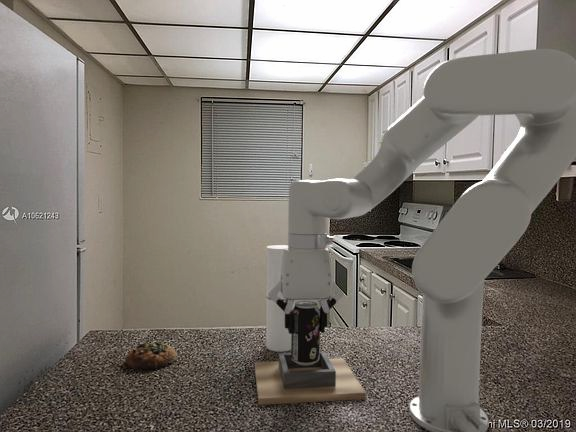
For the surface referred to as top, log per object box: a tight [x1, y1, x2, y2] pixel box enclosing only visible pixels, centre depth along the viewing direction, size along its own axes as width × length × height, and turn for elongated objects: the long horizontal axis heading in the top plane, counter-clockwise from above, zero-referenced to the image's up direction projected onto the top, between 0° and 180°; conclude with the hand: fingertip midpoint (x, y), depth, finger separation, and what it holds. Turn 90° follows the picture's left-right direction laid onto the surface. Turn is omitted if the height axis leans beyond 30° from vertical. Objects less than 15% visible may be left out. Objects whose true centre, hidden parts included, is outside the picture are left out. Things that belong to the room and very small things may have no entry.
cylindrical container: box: [265, 244, 296, 353], centre depth 103 cm, size 7×7×25 cm
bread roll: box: [125, 342, 178, 372], centre depth 94 cm, size 11×11×5 cm
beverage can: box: [290, 300, 321, 366], centre depth 83 cm, size 6×6×12 cm
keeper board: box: [254, 350, 366, 406], centre depth 84 cm, size 16×20×4 cm
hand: (305, 330), depth 83 cm, fingers closed on beverage can, 5 cm apart
